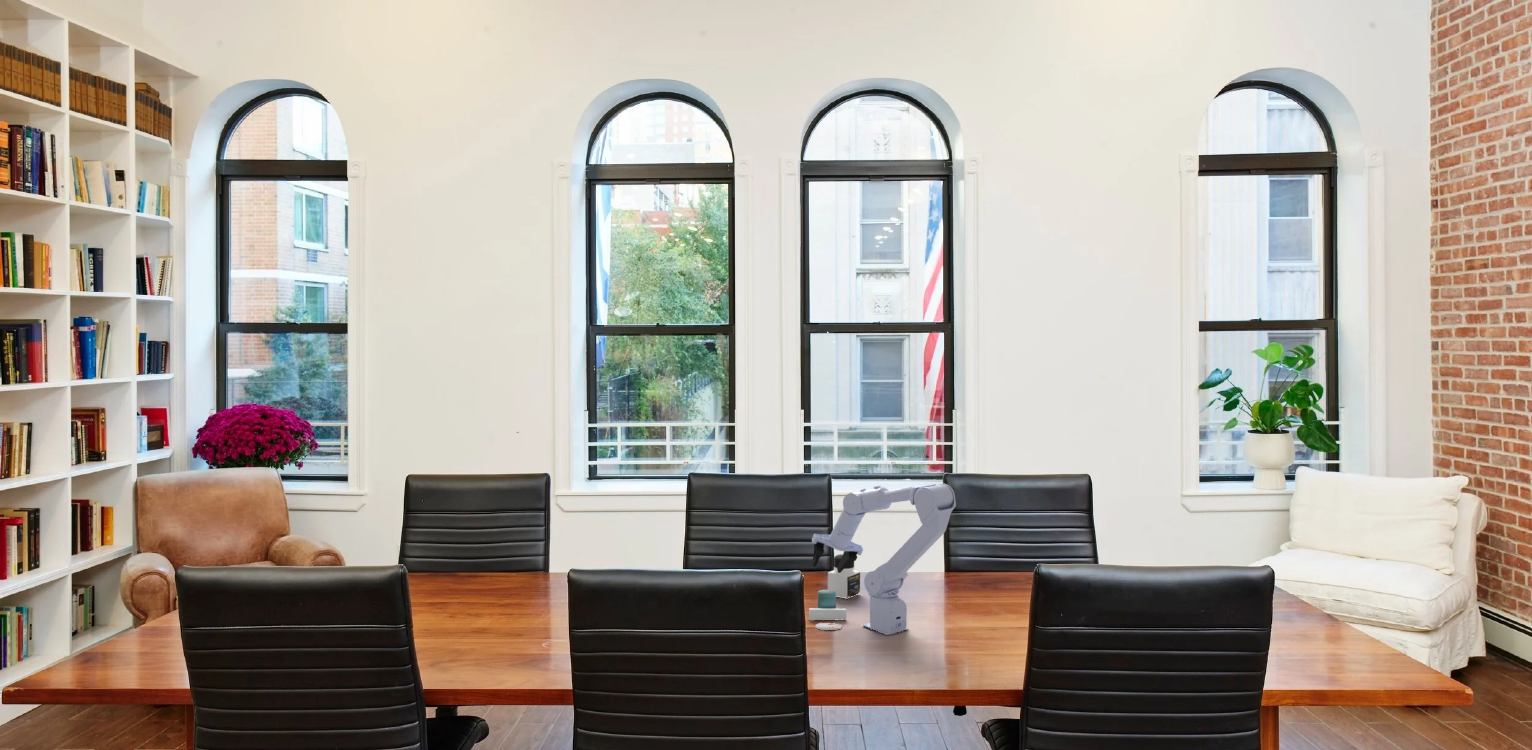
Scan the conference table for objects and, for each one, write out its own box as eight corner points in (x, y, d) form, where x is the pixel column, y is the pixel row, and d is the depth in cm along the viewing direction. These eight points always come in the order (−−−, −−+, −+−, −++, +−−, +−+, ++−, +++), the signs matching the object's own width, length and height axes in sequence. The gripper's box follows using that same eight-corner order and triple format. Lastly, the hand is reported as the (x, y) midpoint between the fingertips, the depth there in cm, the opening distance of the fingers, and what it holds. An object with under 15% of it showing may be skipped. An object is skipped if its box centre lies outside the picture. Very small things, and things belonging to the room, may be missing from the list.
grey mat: (847, 627, 239) (847, 626, 239) (827, 632, 235) (827, 631, 235) (830, 621, 245) (830, 620, 245) (810, 625, 241) (810, 625, 241)
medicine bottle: (847, 600, 266) (847, 559, 265) (827, 596, 270) (827, 555, 270) (860, 594, 271) (860, 554, 271) (840, 590, 276) (840, 551, 275)
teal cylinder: (839, 614, 251) (839, 592, 251) (825, 617, 248) (825, 595, 248) (827, 610, 255) (827, 588, 255) (813, 613, 252) (814, 591, 252)
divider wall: (846, 619, 246) (846, 608, 246) (846, 620, 245) (846, 609, 245) (809, 619, 247) (809, 608, 246) (809, 620, 246) (809, 609, 245)
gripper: (866, 526, 254) (847, 564, 259) (818, 514, 250) (800, 552, 255) (871, 542, 247) (851, 580, 253) (822, 529, 244) (803, 568, 249)
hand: (826, 567), depth 254 cm, fingers open, 7 cm apart
